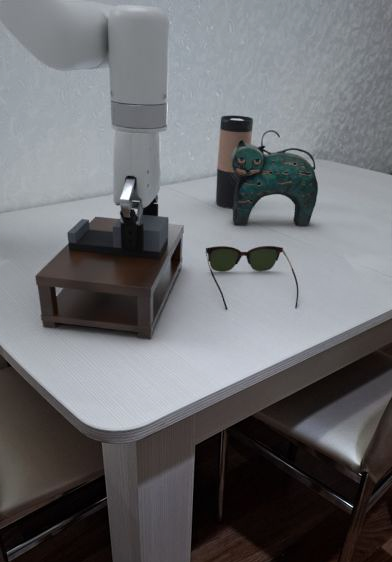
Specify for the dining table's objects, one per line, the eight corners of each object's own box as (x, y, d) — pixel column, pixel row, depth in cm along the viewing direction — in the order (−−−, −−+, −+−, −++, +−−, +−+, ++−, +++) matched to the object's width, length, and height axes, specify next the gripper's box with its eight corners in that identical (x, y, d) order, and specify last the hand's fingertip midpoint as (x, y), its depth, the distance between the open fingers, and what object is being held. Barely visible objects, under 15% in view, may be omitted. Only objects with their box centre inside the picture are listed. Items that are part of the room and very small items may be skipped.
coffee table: (41, 326, 72) (35, 275, 68) (98, 258, 94) (95, 216, 90) (150, 340, 71) (150, 288, 66) (182, 267, 92) (183, 225, 88)
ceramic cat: (227, 226, 112) (235, 130, 102) (223, 217, 118) (231, 125, 107) (314, 228, 114) (331, 134, 103) (306, 219, 120) (321, 128, 109)
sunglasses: (279, 270, 93) (283, 245, 90) (303, 314, 82) (309, 287, 79) (202, 271, 91) (204, 246, 88) (216, 316, 80) (219, 289, 77)
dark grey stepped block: (68, 250, 76) (65, 222, 74) (83, 235, 81) (81, 208, 79) (159, 259, 75) (159, 231, 72) (168, 244, 80) (168, 217, 78)
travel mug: (246, 201, 130) (254, 116, 119) (243, 210, 123) (252, 121, 113) (217, 198, 131) (222, 114, 120) (212, 206, 124) (218, 119, 114)
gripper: (128, 106, 75) (131, 218, 84) (91, 124, 61) (99, 257, 70) (178, 110, 74) (175, 222, 84) (152, 129, 60) (152, 263, 69)
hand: (140, 238), depth 77 cm, fingers open, 9 cm apart
